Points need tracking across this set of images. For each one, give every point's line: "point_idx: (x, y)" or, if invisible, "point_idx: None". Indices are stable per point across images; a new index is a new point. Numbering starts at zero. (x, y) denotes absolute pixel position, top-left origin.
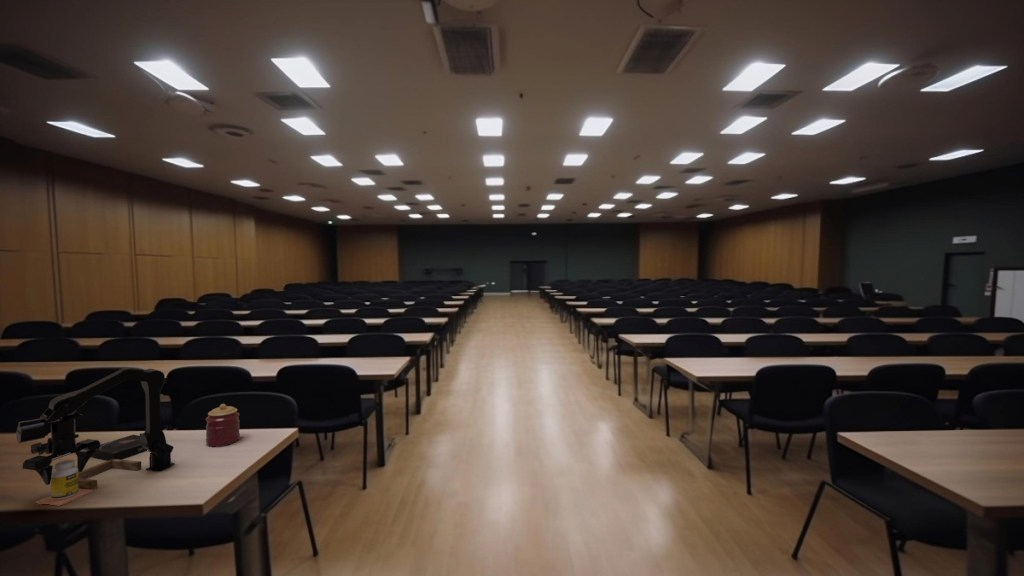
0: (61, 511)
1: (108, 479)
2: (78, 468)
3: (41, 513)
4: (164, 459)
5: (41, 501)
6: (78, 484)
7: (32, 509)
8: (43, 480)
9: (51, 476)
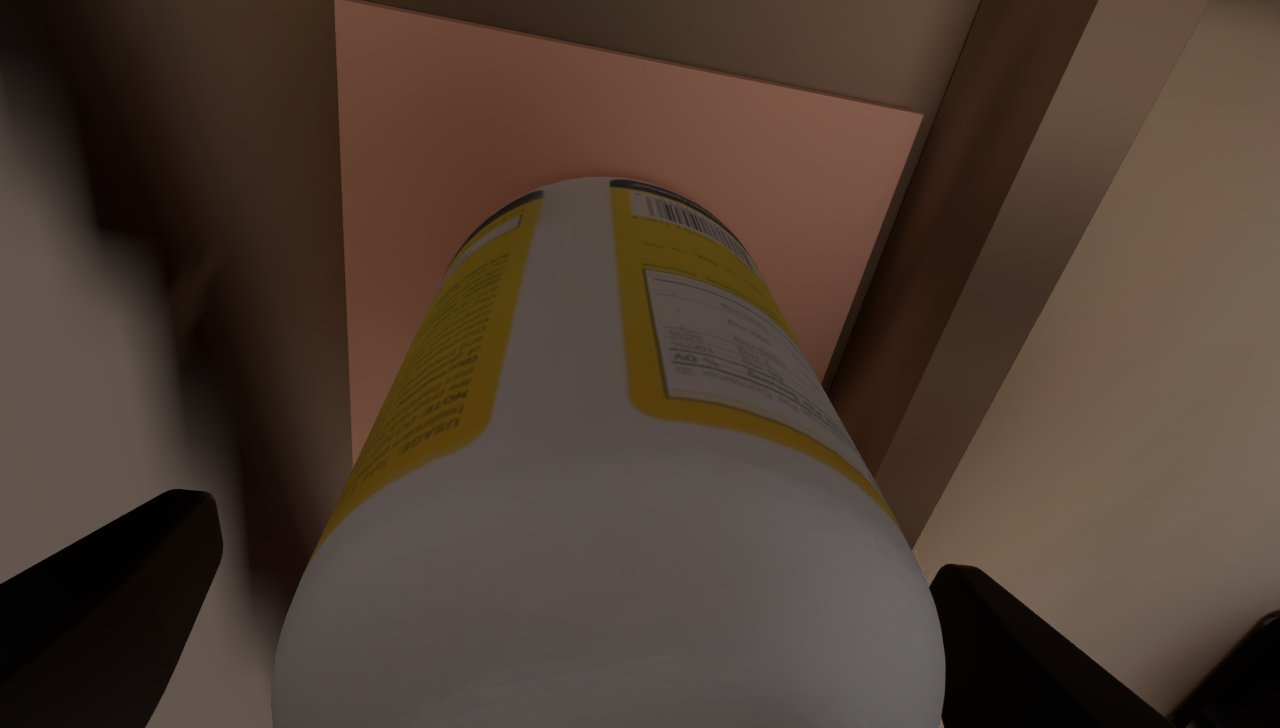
0: (280, 578)
1: (1134, 411)
2: (985, 664)
3: (166, 421)
4: None
5: (384, 117)
6: (911, 295)
7: (193, 180)
8: (6, 595)
9: (295, 596)
